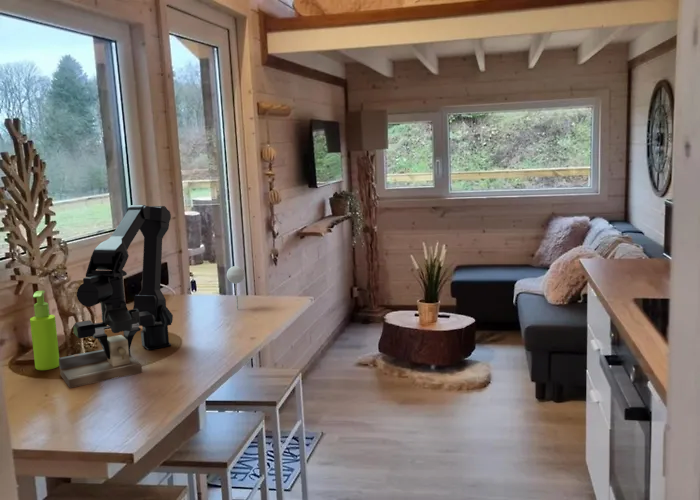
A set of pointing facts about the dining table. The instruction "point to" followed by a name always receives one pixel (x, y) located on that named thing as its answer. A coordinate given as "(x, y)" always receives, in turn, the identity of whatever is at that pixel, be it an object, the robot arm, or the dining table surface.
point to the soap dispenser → (44, 335)
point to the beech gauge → (118, 350)
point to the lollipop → (235, 277)
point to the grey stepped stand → (94, 368)
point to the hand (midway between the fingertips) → (117, 357)
